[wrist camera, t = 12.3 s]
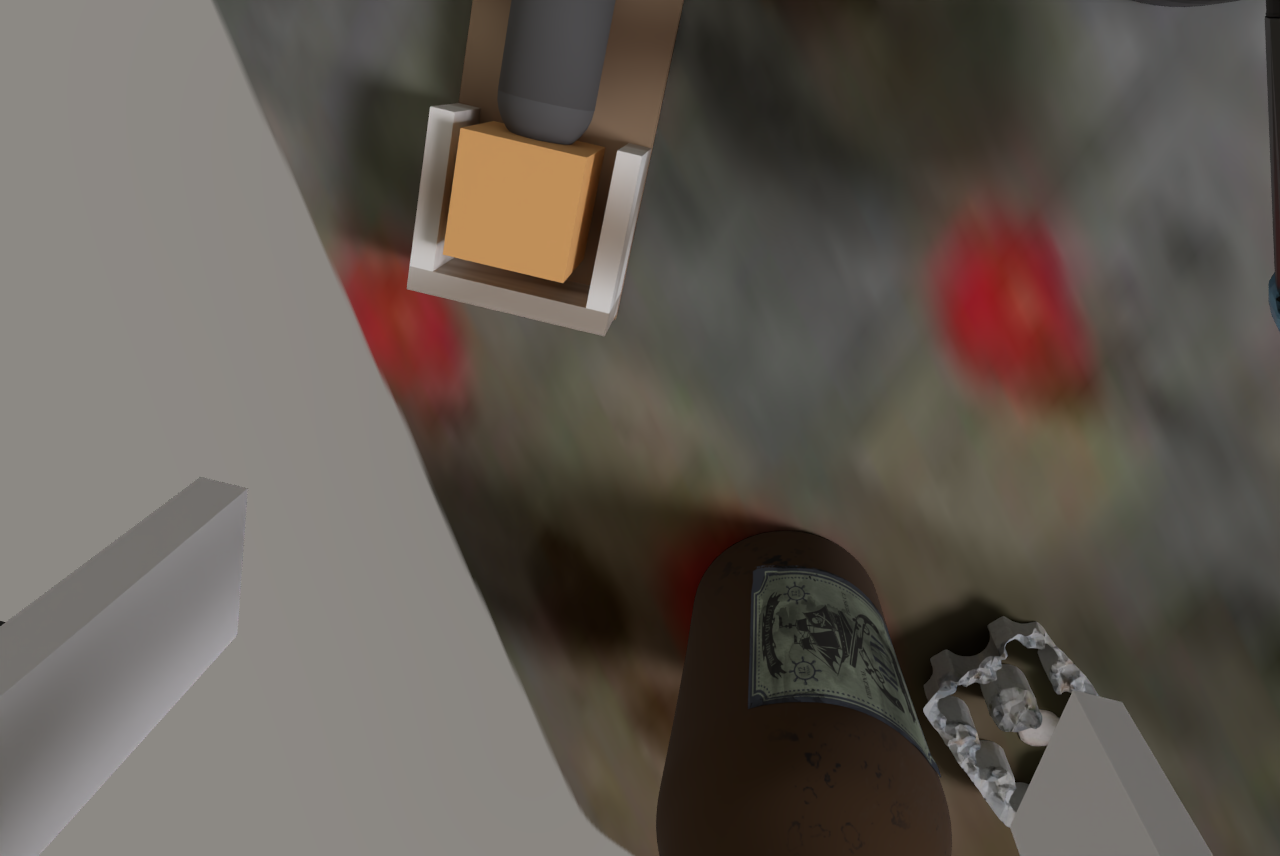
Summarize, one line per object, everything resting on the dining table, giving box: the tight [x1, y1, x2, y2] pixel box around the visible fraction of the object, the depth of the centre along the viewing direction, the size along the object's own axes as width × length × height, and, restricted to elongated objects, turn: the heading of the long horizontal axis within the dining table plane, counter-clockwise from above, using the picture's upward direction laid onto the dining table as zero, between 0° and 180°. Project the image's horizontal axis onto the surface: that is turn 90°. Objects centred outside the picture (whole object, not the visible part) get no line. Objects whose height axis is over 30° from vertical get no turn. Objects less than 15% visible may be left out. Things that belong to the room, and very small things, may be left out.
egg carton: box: [923, 616, 1099, 827], centre depth 48 cm, size 11×8×4 cm
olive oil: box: [656, 531, 952, 856], centre depth 38 cm, size 11×11×25 cm
